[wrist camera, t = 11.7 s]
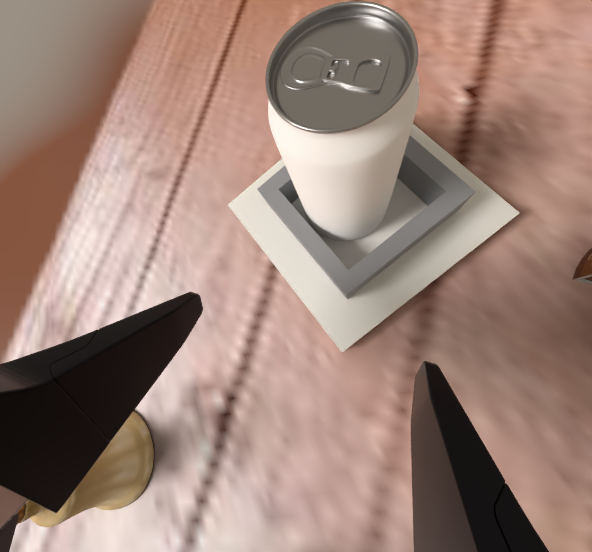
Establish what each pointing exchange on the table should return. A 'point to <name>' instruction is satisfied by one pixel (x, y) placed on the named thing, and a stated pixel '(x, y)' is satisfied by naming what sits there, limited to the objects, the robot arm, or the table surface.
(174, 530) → the table surface
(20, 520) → the hand bell
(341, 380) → the table surface
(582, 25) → the table surface
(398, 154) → the can
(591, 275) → the food container
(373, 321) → the socket board
